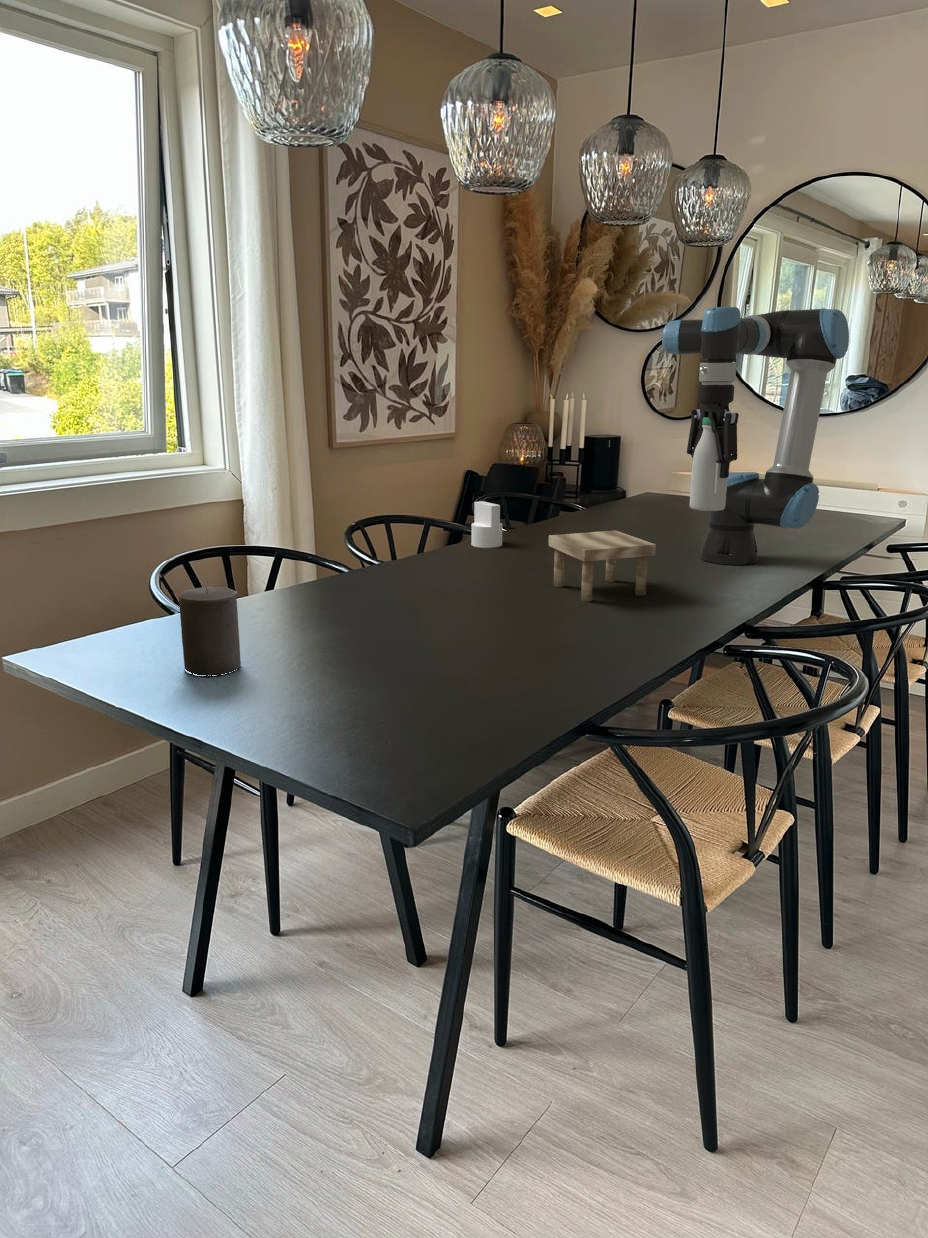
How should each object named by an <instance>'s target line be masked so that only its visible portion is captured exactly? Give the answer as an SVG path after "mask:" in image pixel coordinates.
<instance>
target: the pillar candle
mask: <svg viewBox="0 0 928 1238" xmlns="http://www.w3.org/2000/svg"><path fill="white" fill-rule="evenodd" d="M237 594H238V591H236V590H234V589H231V588H228V587H219V586H218V587H217V586H215V587H214V586H207V585H205V586H204V587H194V588H191V589H185V590H183V591H181V592H180V593H179V596H178V600H179V601H178V602H179V617H180V629H181V643H182V651H183V652H182V653H183V665H184V670H185V669H186V670H187V671H189V672H191V673H192V674H193V673H194V674H197V675H206V676H208V675H211V676H212V675H221V674H225V673H229V672H232V671H234V670H236V669H238V668H239V667H240V665H242V662H241V648H240V633H239V631H240V630H239V629H240V628H239V615H238V613H239V612H238V600H237V599H238V598H237V597H238V596H237ZM240 668H241V667H240ZM240 668H239V669H240ZM239 669H238V670H239Z"/></svg>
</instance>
